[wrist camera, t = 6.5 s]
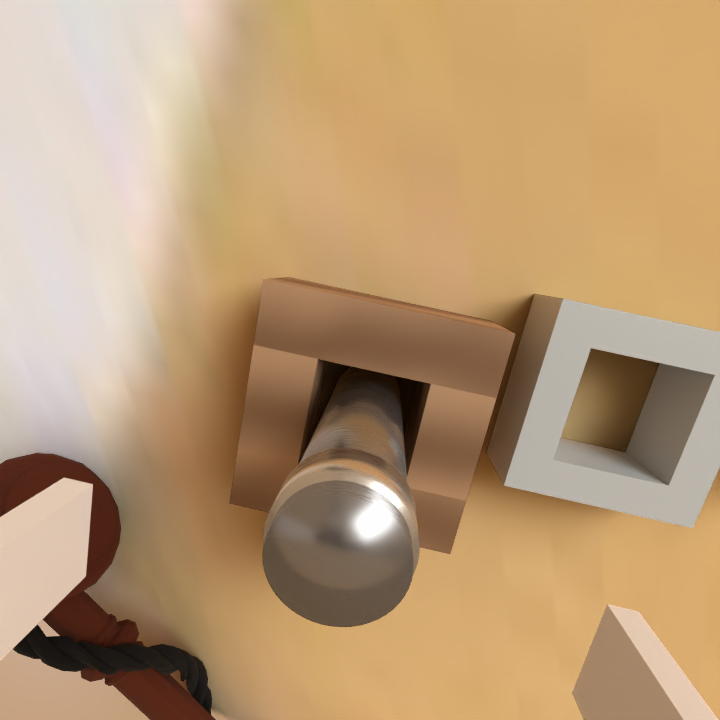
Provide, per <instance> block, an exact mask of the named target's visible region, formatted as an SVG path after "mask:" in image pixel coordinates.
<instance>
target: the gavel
mask: <svg viewBox="0 0 720 720" xmlns="http://www.w3.org/2000/svg"><path fill="white" fill-rule="evenodd" d="M63 478H68V479H73V480H77V481H81V482H86V483H90V484H93V491H92V504H91V517H90V530H89V543H88V556H87V569H86V577H85V578H84V579H83V580H82V581H81V582H80V583H79V584H78V585H77V586H76V587H75V588H74V589H73V590H72V591H71V592H70V593H69V594H68V595H67V596H66V597H65V598H63V599H62V600H61V601H60V602H59V603H58V604H57V605H56V606H55V607H54V608H53V609H52V610H51V611H50V612H49V613H48V614H47V615H46V616H45V617H44V618H43V620H44V621H45V622H46V623H47V624H48V625H49V626H50V627H51V628H52V629H53V630H55V631H56V632H57V633H58V634H59V635H60V636H53V637H46V636H45V634H44V633H43V631H42V630H41V629H40V627H39V626H38V624H37V625H36V626H35V627H34V628H33V629H32V630H31V631H30V632H29V633H28V634H27V635H26V636H25V637H24V638H23V639H22V640H21V641H20V642H19V643H18V644H17V645H16V646H15V647H14V648H13V650H15V651H16V652H17V653H19V654H22V655H25V656H27V657H30V658H33V659H41V660H42V662H43V663H45V664H47V665H49V666H51V667H54V668H56V669H59V670H62V671H73V672H77V671H80V670H81V677H82V678H83V679H86V680H88V681H90V682H91V681H96V680H101V679H103V678H105V684H106V685H108V686H111V685H113V686H114V687H116V688H117V689H118V690H119V691H120V692H121V693H122V694H123V695H124V696H125V697H126V698H127V699H128V700H130V701H131V702H132V703H133V704H134V705H135V706H136V707H137V708H138V709H139V710H140V711H141V712H142V713H144V714H145V715H146V716H147V717H148V718H149V719H150V720H215V719H214V718H213V717H212V716H211V704H212V696H211V691H210V689H209V687H208V686H207V684H208V677H207V672H206V669H205V667H204V665H203V663H202V661H200V660H199V659H198V658H196V657H194V656H191V655H190V654H189V653H187V652H186V651H184V650H181V649H179V648H176V647H174V646H169V645H164V644H160V645H154V646H151V647H145V646H143V643H142V642H141V641H137V642H136V640H137V638H138V635H139V632H138V629H137V626H136V623H135V622H133V621H130V620H128V619H127V620H123V621H119V622H117V619H116V617H115V616H114V615H112V614H109V615H108V614H107V613H106V612H105V611H104V610H103V609H102V608H101V607H100V606H99V605H98V604H97V603H96V602H95V601H94V600H93V599H92V598H91V597H90V596H89V595H88V594H87V593H86V592H85V591H84V590H85V589H87V588H88V587H90V586H92V585H93V584H95V583H96V582H97V581H98V580H99V578H100V577H101V576H102V575H103V573H104V572H105V571H106V570H107V569H108V567H109V566H110V565H111V564H112V561H113V558H114V556H115V553H116V550H117V548H118V545H119V540H120V532H121V525H120V519H119V512H118V507H117V505H116V503H115V500H114V498H113V496H112V494H111V492H110V490H109V488H108V487H107V486H106V485H105V484H104V483H103V482H102V481H101V480H100V478H99V477H98V476H97V475H96V474H95V473H94V472H92V471H91V470H90V469H88V468H87V467H86V466H84V465H83V464H82V463H79V462H76V461H73V460H70V459H67V458H64V457H61V456H58V455H55V454H42V453H34V454H30V455H26V456H22V457H17V458H13V459H9V460H6V461H4V462H3V463H1V464H0V517H1V516H3V515H4V514H6V513H8V512H9V511H11V510H13V509H14V508H16V507H17V506H19V505H21V504H22V503H24V502H25V501H27V500H29V499H30V498H32V497H34V496H35V495H37V494H38V493H40V492H42V491H43V490H45V489H46V488H48V487H50V486H51V485H53V484H54V483H56V482H58V481H59V480H61V479H63ZM116 622H117V623H116ZM178 669H179V671H180V672H181V681H184V680H186V679H187V681H186V685H187V688H188V690H189V692H190V693H191V695H192V696H193V697H192V696H191V695H190V694H189V693H188V692H187V691H186V690H185V689H184V688H183V687H182V686H181V685H180V684H179V683H178V682H177V681H176V680H175V679H174V678H173V677H172V676H171V675H170V674H171V673H173V672H174V671H176V670H178Z"/></svg>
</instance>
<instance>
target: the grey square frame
mask: <svg viewBox="0 0 720 720" xmlns="http://www.w3.org/2000/svg"><path fill="white" fill-rule="evenodd" d="M591 348H593V349H597V350H602V351H606V352H611V353H616V354H620V355H625V356H630V357H634V358H639V359H643V360H648V361H653V362H657V363H660V364H659V366H658V369H657V372H656V374H655V377H654V379H653V382H652V385H651V387H650V390H649V392H648V395H647V398H646V400H645V403H644V405H643V408H642V411H641V413H640V416H639V418H638V421H637V424H636V426H635V429H634V431H633V434H632V437H631V439H630V442H629V445H628V447H627V450H626V452H622V451H618V450H613V449H609V448H604V447H600V446H595V445H591V444H586V443H582V442H577V441H573V440H568V439H564V438H561V435H562V432H563V429H564V426H565V423H566V420H567V417H568V414H569V412H570V409H571V406H572V403H573V400H574V397H575V394H576V391H577V388H578V385H579V382H580V379H581V376H582V374H583V371H584V368H585V365H586V362H587V359H588V356H589V353H590V350H591ZM487 455H488V456H489V458H490V460H491V462H492V464H493V466H494V468H495V470H496V472H497V474H498V475H499V477H500V479H501V481H502V483H503V485H504V486H508V487H512V488H516V489H521V490H525V491H530V492H534V493H539V494H543V495H547V496H552V497H556V498H561V499H565V500H570V501H574V502H579V503H583V504H587V505H592V506H596V507H601V508H605V509H610V510H614V511H618V512H623V513H627V514H632V515H636V516H641V517H645V518H650V519H654V520H658V521H663V522H667V523H672V524H676V525H681V526H685V527H689V528H693V527H694V524H695V522H696V520H697V517H698V515H699V513H700V511H701V508H702V506H703V504H704V502H705V499H706V497H707V495H708V493H709V490H710V488H711V486H712V484H713V481H714V479H715V477H716V475H717V472H718V470H719V468H720V332H717V331H712V330H708V329H703V328H698V327H694V326H689V325H684V324H680V323H675V322H670V321H666V320H661V319H656V318H652V317H647V316H642V315H637V314H633V313H628V312H623V311H619V310H614V309H609V308H605V307H600V306H595V305H591V304H586V303H581V302H577V301H572V300H567V299H562V298H556V297H550V296H544V295H538V294H534V297H533V301H532V304H531V307H530V311H529V314H528V317H527V321H526V324H525V327H524V331H523V334H522V337H521V341H520V344H519V347H518V351H517V354H516V357H515V361H514V364H513V367H512V370H511V374H510V377H509V380H508V384H507V387H506V390H505V394H504V397H503V400H502V404H501V407H500V410H499V414H498V417H497V420H496V424H495V427H494V430H493V434H492V437H491V440H490V444H489V447H488V450H487Z"/></svg>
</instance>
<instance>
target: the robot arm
mask: <svg viewBox="0 0 720 720" xmlns="http://www.w3.org/2000/svg"><path fill="white" fill-rule="evenodd" d="M92 491H93V484H90V483H86V482H81V481H77V480H73V479H68V478H63V479H61V480H59V481H58V482H56V483H54V484H53V485H51V486H50V487H48V488H46V489H45V490H43V491H42V492H40V493H38V494H37V495H35V496H34V497H32V498H30V499H29V500H27V501H25V502H24V503H22V504H21V505H19V506H17V507H16V508H14V509H13V510H11V511H9V512H8V513H6V514H4V515H3V516H1V517H0V661H1V660H2V659H3V658H4V657H5V656H6V655H7V654H8V653H9V652H10V651H11V650H12V649H13V648H14V647H15V646H16V645H17V644H18V643H19V642H20V641H21V640H22V639H23V638H24V637H25V636H26V635H27V634H28V633H29V632H30V631H31V630H32V629H33V628H34V627H35V626H36V625H37V624H38V623H39V622H40V621H41V620H42V619H43V618H44V617H45V616H46V615H47V614H48V613H49V612H50V611H51V610H52V609H53V608H54V607H55V606H56V605H57V604H58V603H59V602H60V601H61V600H62V599H63V598H65V597H66V596H67V595H68V594H69V593H70V592H71V591H72V590H73V589H74V588H75V587H76V586H77V585H78V584H79V583H80V582H81V581H82V580H83V579H84V578H85V577H86V569H87V556H88V543H89V530H90V517H91V504H92ZM572 694H573V696H574V698H575V701H576V703H577V705H578V707H579V710H580V712H581V714H582V717H583V719H584V720H718V719H717V717H716V716H715V714H714V713H713V712H712V710H711V709H710V708H709V706H708V705H707V704H706V702H705V701H704V700H703V698H702V697H701V695H700V694H699V693H698V691H697V690H696V689H695V687H694V686H693V685H692V683H691V682H690V681H689V679H688V678H687V676H686V675H685V674H684V672H683V671H682V670H681V668H680V667H679V666H678V664H677V663H676V662H675V660H674V659H673V658H672V656H671V655H670V653H669V652H668V651H667V649H666V648H665V647H664V645H663V644H662V643H661V641H660V640H659V639H658V637H657V636H656V634H655V633H654V632H653V630H652V629H651V628H650V626H649V625H648V624H647V622H646V621H645V620H644V618H643V617H642V615H641V614H640V613H639V611H634V610H630V609H626V608H621V607H617V606H613V605H609V604H607V607H606V609H605V612H604V614H603V617H602V619H601V622H600V624H599V627H598V629H597V632H596V634H595V637H594V639H593V642H592V644H591V647H590V649H589V652H588V654H587V657H586V659H585V662H584V664H583V667H582V669H581V672H580V674H579V677H578V680H577V682H576V685H575V687H574V690H573V692H572Z"/></svg>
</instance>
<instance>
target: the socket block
mask: <svg viewBox="0 0 720 720" xmlns="http://www.w3.org/2000/svg"><path fill="white" fill-rule="evenodd" d="M514 338H515V333H513V332H511V331H509V330H507V329H506V328H504V327H502V326H500V325H498V324H496V323H494V322H492V321H489V320H485V319H480V318H475V317H471V316H466V315H462V314H457V313H452V312H448V311H443V310H438V309H434V308H429V307H424V306H420V305H415V304H410V303H406V302H401V301H397V300H392V299H387V298H383V297H378V296H373V295H369V294H364V293H359V292H355V291H350V290H346V289H341V288H336V287H332V286H327V285H322V284H318V283H313V282H308V281H304V280H299V279H295V278H290V277H286V278H273V279H264V280H263V286H262V293H261V300H260V306H259V313H258V319H257V326H256V332H255V339H254V345H253V352H252V359H251V365H250V372H249V378H248V385H247V391H246V398H245V404H244V411H243V418H242V424H241V431H240V437H239V444H238V450H237V457H236V463H235V470H234V477H233V483H232V490H231V496H230V504H235V505H239V506H243V507H248V508H252V509H256V510H261V511H265V512H269V511H270V509H271V507H272V505H273V503H274V501H275V499H276V497H277V495H278V493H279V491H280V489H281V487H282V485H283V483H284V482H285V480H286V478H287V477H288V475H289V474H290V473H291V471H292V470H293V469H294V468H295V467H296V466H297V465H298V464H299V463H300V462H301V460H302V458H303V456H304V453H305V451H306V449H307V447H308V445H309V443H310V441H311V438H312V436H313V434H314V432H315V430H316V428H317V427H315V425H316V420H317V415H318V410H319V405H320V399H321V394H322V389H323V384H324V379H325V374H326V369H327V364H328V361H329V362H334V363H339V364H343V365H348V366H352V367H357V368H361V369H366V370H370V371H375V372H379V373H384V374H388V375H393V376H398V377H402V378H407V379H411V380H416V381H418V384H417V388H416V392H415V396H414V400H413V404H412V408H411V412H410V416H409V420H408V424H407V428H406V432H405V436H404V448H405V461H406V473H407V484H408V486H409V487H410V490H411V492H412V494H413V498H414V501H415V507H416V517H417V526H418V536H419V545H420V546H419V547H421V548H426V549H430V550H434V551H439V552H443V553H447V554H450V553H451V550H452V546H453V543H454V540H455V536H456V533H457V529H458V526H459V523H460V519H461V516H462V513H463V509H464V506H465V503H466V499H467V496H468V492H469V489H470V486H471V482H472V479H473V476H474V472H475V469H476V466H477V462H478V459H479V455H480V452H481V449H482V445H483V442H484V439H485V435H486V432H487V428H488V425H489V422H490V418H491V415H492V412H493V408H494V405H495V402H496V398H497V395H498V391H499V388H500V385H501V381H502V378H503V375H504V371H505V368H506V365H507V361H508V358H509V354H510V351H511V348H512V344H513V341H514Z"/></svg>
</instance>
